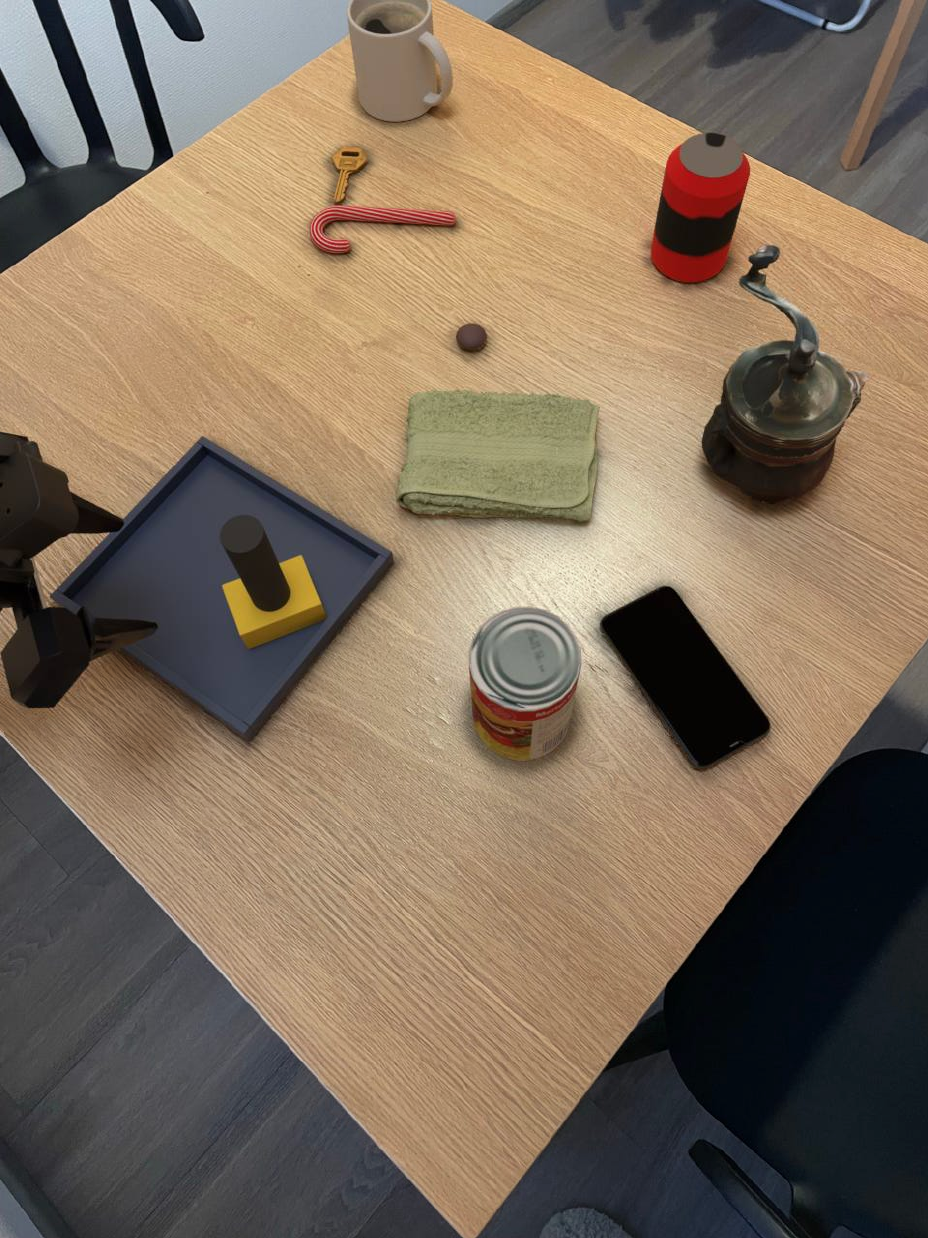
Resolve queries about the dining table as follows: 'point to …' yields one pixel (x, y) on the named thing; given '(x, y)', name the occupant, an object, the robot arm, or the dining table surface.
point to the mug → (397, 58)
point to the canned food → (523, 681)
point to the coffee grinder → (779, 406)
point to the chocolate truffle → (471, 336)
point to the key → (347, 168)
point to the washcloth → (499, 455)
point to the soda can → (699, 207)
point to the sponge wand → (266, 585)
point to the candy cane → (370, 215)
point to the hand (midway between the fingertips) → (138, 576)
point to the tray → (221, 583)
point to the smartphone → (684, 677)
